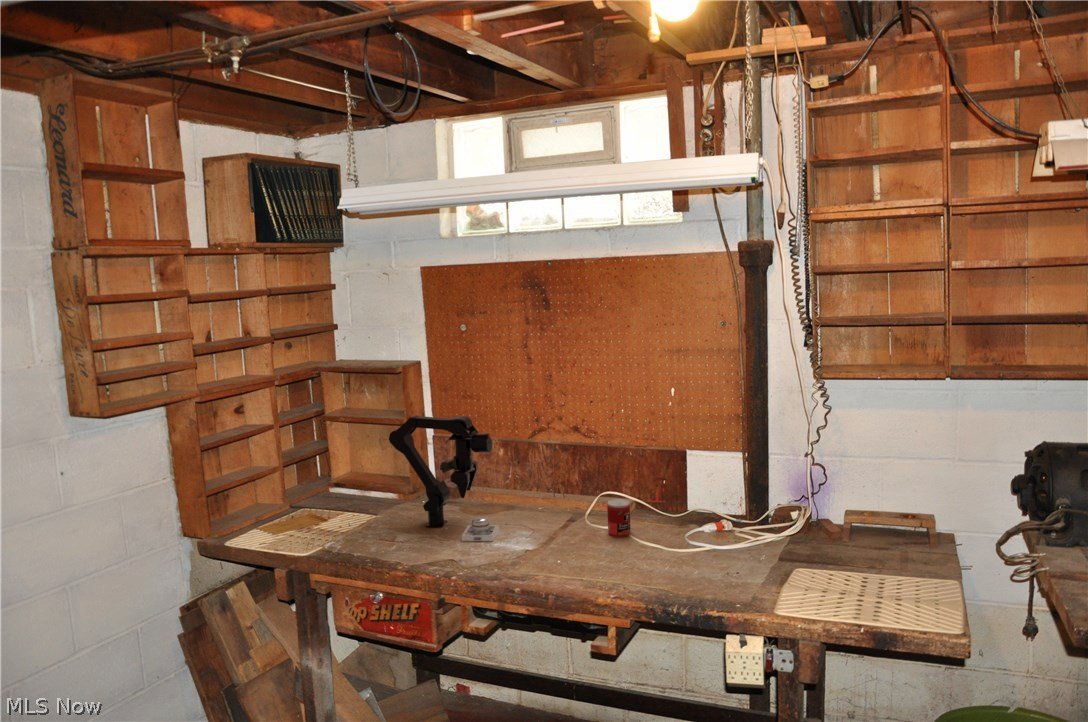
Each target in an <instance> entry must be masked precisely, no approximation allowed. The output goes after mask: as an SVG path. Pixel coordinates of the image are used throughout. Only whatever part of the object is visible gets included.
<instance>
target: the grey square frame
mask: <svg viewBox="0 0 1088 722" xmlns="http://www.w3.org/2000/svg"><path fill="white" fill-rule="evenodd" d="M489 528H490V531H493V532H491V534H490V535H473V534H471V532H472V524H468V525H467V527H466V528H465V529H464V531H463V533H462V534H461V542H494V541H495V540H496V538H497V535H498V534H499V531H500V526H499V524H496V525H495V524H489ZM469 533H470V534H469ZM495 537H496V538H495ZM494 539H495V540H494Z"/></svg>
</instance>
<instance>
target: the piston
mask: <svg viewBox="0 0 1088 722" xmlns="http://www.w3.org/2000/svg"><path fill="white" fill-rule="evenodd" d="M471 525H472V531H471V532H472V535H491V534H490V528H489V525H490V519H489V517H487V516H476V517H473V518H472V520H471Z"/></svg>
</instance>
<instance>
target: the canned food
mask: <svg viewBox="0 0 1088 722" xmlns="http://www.w3.org/2000/svg"><path fill="white" fill-rule="evenodd" d="M630 503H631V502H630V501H628V500H627V499H619V498H618V499H617V498H615V499H610V500H608V501H607V504H606V506H607V507H606V508H607V509H606V510H607V511H606V512H607V532H608V534H609V535H610V536H612V537H615V538H625V537H628V536H629V535H630V534H631V504H630Z"/></svg>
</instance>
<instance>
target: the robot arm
mask: <svg viewBox="0 0 1088 722" xmlns="http://www.w3.org/2000/svg"><path fill="white" fill-rule="evenodd" d="M417 429H429V430H443V431H446V432H449V433H451V434H452V435H451V436H450V437H449V438H448V440H449V441H454V448H455V449H454V450H455V451H454V452H455V453H454V454H455V455H454V456H453V458H451V459H448V460H445V461H441V463H440V465H439V467H440V468H439V470H440V471H442V473H443V474H445V473H447V472H449V471H451V470H453V472H452V473H451V474H450V476H449V478H450V482H451V483H453V484H455V485H456V486H457V487H456V488H457V489H458V492H459V493H458V494H459V495H460V496H459V497H460V498H461V499H465V497H466V494H467V492H468V491H469V492H470V491H471V488H472V486H473V483H474V479H475V478H476V474H477V471H478V468H479V463H478V462H477V461H476V460H473V456H474V453H483V454H484V453H485V454H489V453H491V452H492V450H493V441H492V437H491V435H490V433H489V432H485V433H479V431H478V430H477V428H476V427H475V426H474V424H473V422H472V419H471V418H470V417H469V416H468V415H461V416H460V415H459V416H453V417H448V418H447V417H438V416H437V417H434V416H424V415H417V414H415V415H413V416H411V417H409V418H408V419H407V421H405V422H404V423H403V424H402V425H400V427H398V428H397V429H395V430H393V431H391V432H390V433H389V436H388V441H389V443H390V444H391V445H392V446H393V448H394V449H395V450H396V451H398V452H400V453H401V454H403V456H404V457H405V459H406V460H407V462H408V463H409V464H410V466H411V468H412V469H413V471H414V473H416V476H417V477H418V479H420V481H421V483H422V484H423V486H424V489H425V493H426V497H427V501H426V502H425V503H424V504H423V505H422V507H423V509H424V512H427V518H428V519H427V521H428V522H427V523H426V524H425V527H426V528H443V527H444V526H445V525H446V524H447V522H448V520H447V519H445V514H444V513H445V512H444V506H446V505H447V502H448V501H449V500H450V498H451V491H450V490H451V488H450V487H449V486H448V485H447V483H446V481H445V480H444V479H443V480H442V481H440V480H438V479H437V478H436V477H435V475H434V473H433V472H432V471H431V469H430V468H429V466H428V465H427V463H426V462H425V460H424V458H423V457H422V456H421V455H420V453H419V451H418V450H417V448H416V446H415V440H414V437H413V436H412V434H413V433H414V432H415V431H416V430H417ZM472 451H473V452H474V453H473V452H472Z"/></svg>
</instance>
